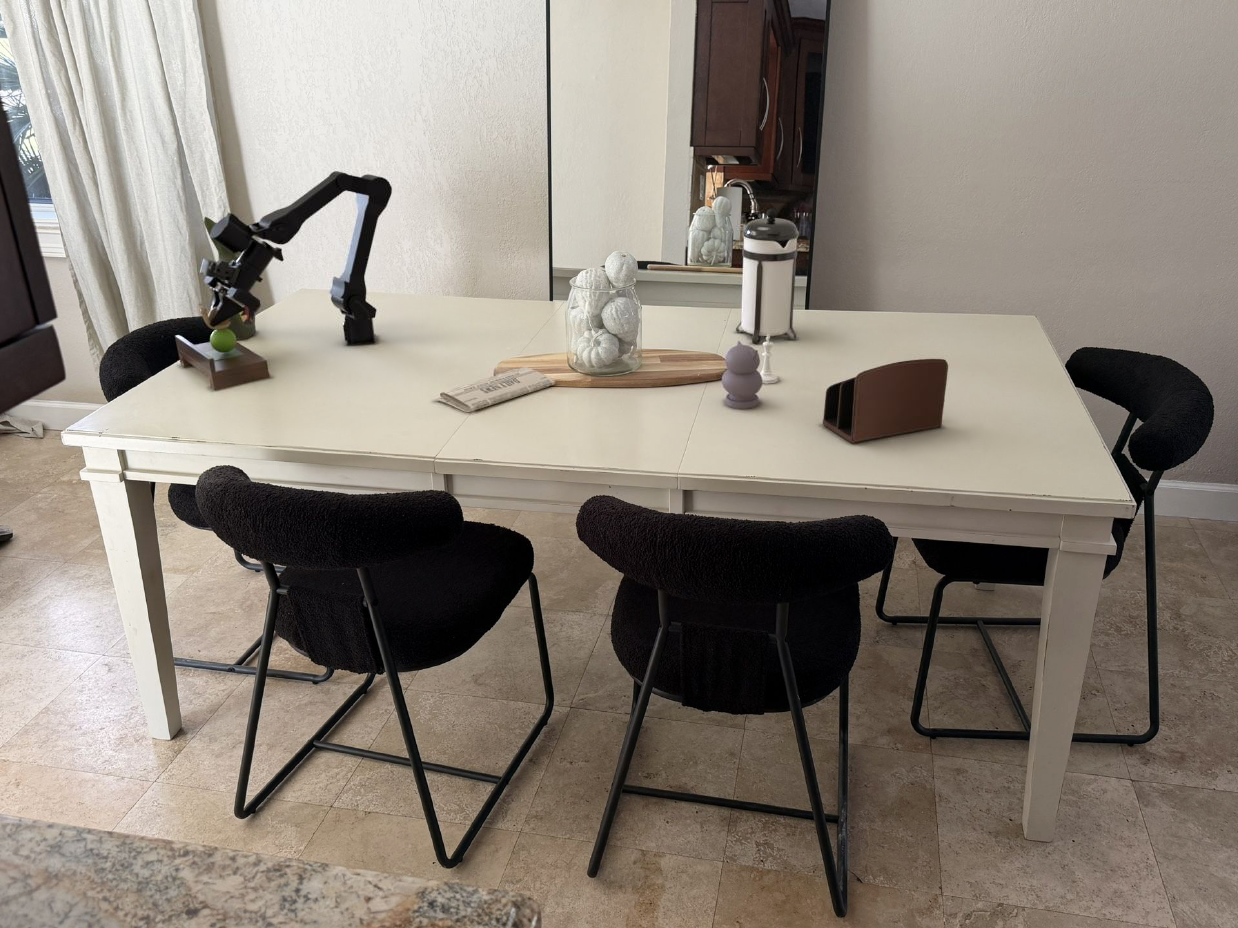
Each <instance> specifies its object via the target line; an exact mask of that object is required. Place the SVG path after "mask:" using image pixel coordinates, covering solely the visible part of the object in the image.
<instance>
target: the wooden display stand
mask: <svg viewBox="0 0 1238 928" xmlns="http://www.w3.org/2000/svg"><path fill="white" fill-rule="evenodd" d="M174 338H175V344H176V348H177V353H178V359H179V362H180V366H181V367H183V369H184V368H190V367H195V368H196V369H198V370H199V371H201V372H202V373H203V374H205V375H206V376H207V377H208V379H209V385H210V388H211V389H212V390H213V391H219V390H223V389H227V388H232V387H236V386H241V385H245V384H248V383H253V382H258V381H263V380H266V379H270V378H271V376H270V371H269V365H268V360H267V359H266V358H264V357H262V356H261V355H259V354H257V353H256V352H254V351H252V350H251V349H250V348H248V347H246V346H244V345H243V344H242V343H240V342H238V341H236V345H235V347H234V349H233V350H231V351H230V352H227V353H221V352H218V351H216V350H215V349H213V347H212V346H211V344H210V341H208V342H204V343H198V344H193V343H192V342H190V341H189V340H187V339H186V338H185V337H183V336H182V335H181V334H177V335H174Z"/></svg>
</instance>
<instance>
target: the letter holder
mask: <svg viewBox="0 0 1238 928" xmlns="http://www.w3.org/2000/svg"><path fill="white" fill-rule="evenodd" d="M948 372H949V364H948V361H947V360H946V359H944V358H920V359H909V360H902V361H901V360H900V361H897V362H892V363H887V364H884V365H879V366H875V367H873V368H870V369H867V370H866V369H865V370H863V371H861V372H859V373H858V374H857V375H856V376H854V377H851V378H847V379H846V380H842V381H840V382H836V383H834V384H831V385H830V386H829V387H827V388H826V391H825V397H824V398H825V399H824V409H823V416H822V417H823V418H822V425H823V426H824V427H826V428H828V429H829V430H830V431H832V432H833V433H835V434H837V435H838V436H840V437H841V438H843V439H844V440H846V441H848V442H849V443H850V444H857V443H862V442H867V441H872V440H876V439H882V438H887V437H893V436H899V435H905V434H910V433H916V432H921V431H927V430H931V429H938V428H941V427H942V424H943V416H944V415H943V414H944V407H945V400H946V399H945V397H946V389H947V388H946V387H947V381H948Z"/></svg>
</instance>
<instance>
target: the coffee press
mask: <svg viewBox="0 0 1238 928" xmlns="http://www.w3.org/2000/svg"><path fill="white" fill-rule="evenodd" d="M765 214H766V216H767V217H762V218H755V219H753V220H750V221H749V222H748V223H747V224H746V225H745V227H744V229H743V230H742V237H743V246H742V258H743V259H742V281H741V282H742V284H741V309H740V310H741V312H740V322H739V324H738V325H737V327H736V328H735V332H736V333H739V334H740V333H742V332H743V331H745V332H746V333H748V334H751V335H752V339H751V342H752V344H755V345H756V344H757V345H759V344H760V342H761V338H762V337H767V334H769V336H770V337H774V336H775V337H776V336H781V335H784V336H786V337H787V338H788V339H789V340H790V341H794V340H795V339H797V332H796V331H795V329H794V327H793V325H794V323H793V322H794V302H795V285H796V269H797V268H796V267H797V256H798V245H797V244H798V241H797V240H798V238H799V236H800V231H799V230H798V229H797V225H796V224H795V223H794V222H793V221H791V220H788V219H785V218H780V217H777V214H778V213H777V211H776V209H774V208H769V209H767V211H766V213H765ZM740 326H741V328H742V330H740V329H739V328H740ZM789 331H790V332H791V334H792V335H793V336H791V335H790V333H788V332H789Z"/></svg>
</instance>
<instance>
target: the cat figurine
mask: <svg viewBox="0 0 1238 928" xmlns="http://www.w3.org/2000/svg"><path fill="white" fill-rule="evenodd" d="M724 361H725V365H726V367H727V369H726V370H725V371H724V373H723V374H722V377H721V384H722V387H723V389H724V390H725V391H726V392H727V394H726V395H725V404H726V406H728V407H730V408H733V409H738V410H739V409H740V410H748V409H753V408H755V407H757V406H758V405H759V395H757V394H758V393H759V391H760V390H761V389H762V387H763V384H764V383H763V381H762V377H761V375H760V373H761V372H759V370H758V368H759V366H760V365H761V364H760V363H761V359H760V354H759V352H758V349H755V348H754V347H752V346H750V345H746V344H743V343H741V341H740V340H737V343H736V345H735V346H732V347H731V348H730V349H729V350H728V351H727V352H726V355H725V359H724Z"/></svg>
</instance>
